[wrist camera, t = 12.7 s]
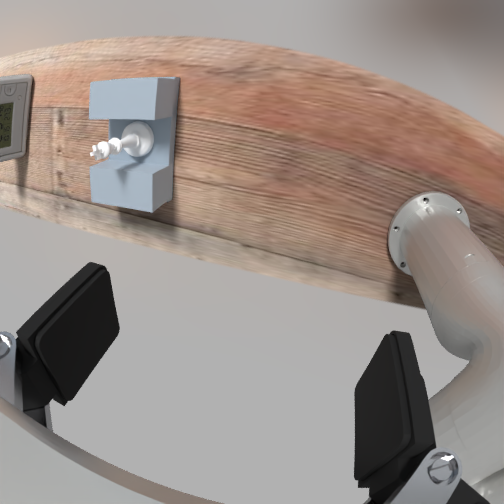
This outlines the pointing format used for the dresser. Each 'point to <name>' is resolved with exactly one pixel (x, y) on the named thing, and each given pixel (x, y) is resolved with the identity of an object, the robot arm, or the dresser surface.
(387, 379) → the robot arm
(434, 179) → the dresser surface
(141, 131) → the chess piece
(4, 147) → the digital clock
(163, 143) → the slot block
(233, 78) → the dresser surface
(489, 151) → the dresser surface
